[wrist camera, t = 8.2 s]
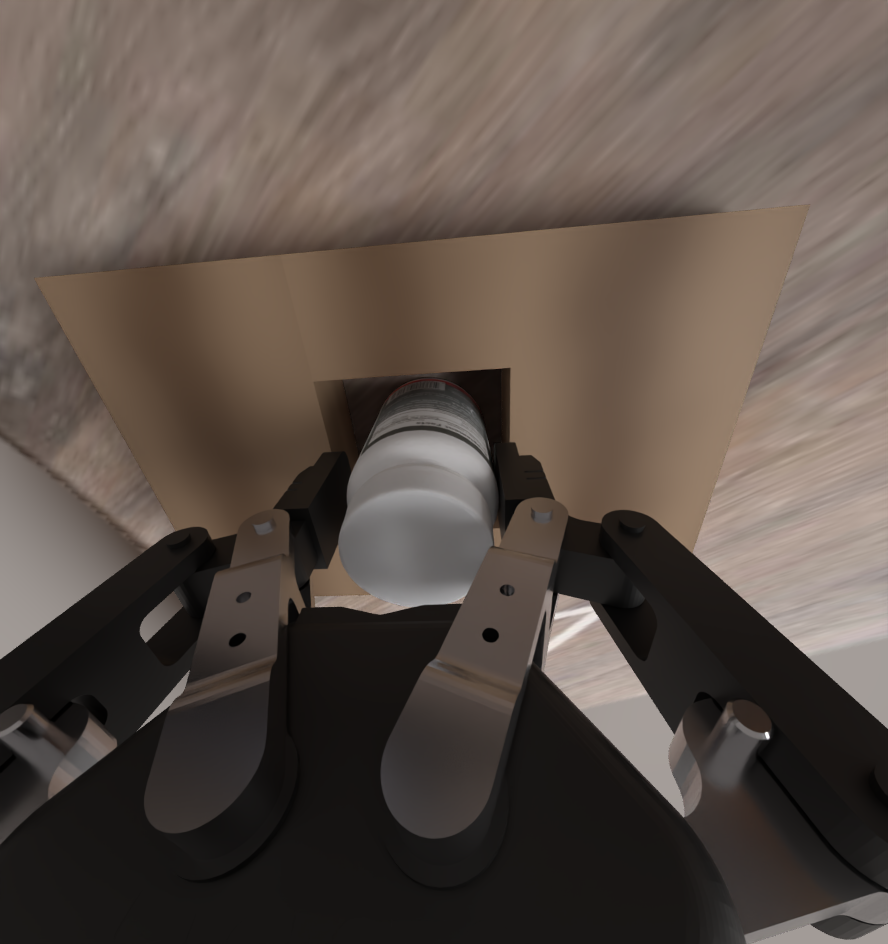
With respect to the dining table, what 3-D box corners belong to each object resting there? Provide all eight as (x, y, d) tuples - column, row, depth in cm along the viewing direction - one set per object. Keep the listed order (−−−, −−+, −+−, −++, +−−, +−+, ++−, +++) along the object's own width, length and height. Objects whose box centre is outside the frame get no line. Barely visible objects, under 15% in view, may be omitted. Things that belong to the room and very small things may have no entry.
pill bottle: (452, 488, 18) (453, 639, 11) (362, 446, 17) (298, 584, 10) (504, 407, 16) (549, 530, 9) (406, 354, 15) (366, 443, 8)
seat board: (735, 215, 12) (810, 204, 10) (651, 541, 19) (681, 585, 17) (113, 274, 14) (33, 278, 11) (244, 556, 21) (214, 599, 18)
